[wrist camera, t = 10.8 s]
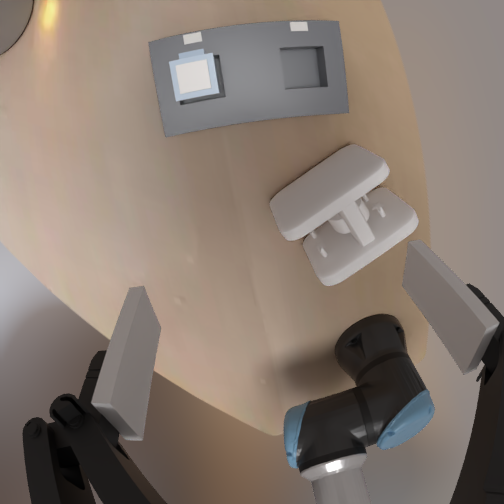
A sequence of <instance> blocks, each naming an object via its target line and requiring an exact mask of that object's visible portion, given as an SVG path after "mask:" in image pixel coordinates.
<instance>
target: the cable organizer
mask: <svg viewBox="0 0 504 504" xmlns="http://www.w3.org/2000/svg"><path fill="white" fill-rule="evenodd" d="M389 172H390V170H389V168H388V166H387V164H386V162H385V160H384V159H383V158H382V157H380V156H378V155H376V154H374V153H372V152H370V151H368V150H367V149H365V148H363V147H361V146H359V145H357V144H351V145H348V146H346V147H344V148H342V149H340V150H338V151H337V152H335V153H334V154H333V155H331V156H330V157H328V158H327V159H325V160H324V161H322V162H321V163H319V164H318V165H317V166H315V167H314V168H312V169H311V170H309V171H308V172H306V173H305V174H304V175H302V176H301V177H299V178H298V179H296V180H295V181H294V182H292V183H291V184H289V185H288V186H287V187H285V188H284V189H282V190H281V191H280V192H278V193H277V194H276V195H275V196H274V197H273V198H272V200H271V201H270V204H269V205H270V208H271V211H272V213H273V216H274V218H275V221H276V224H277V226H278V229H279V231H280V233H281V234H282V235H283V236H284V238H285V239H286V240H288V241H294V240H297V239H300V238H302V237H304V236H305V235H307V234H308V233H310V234H309V235H308V236H307V237H306V238H305V240H304V242H303V247H304V250H305V252H306V254H307V256H308V258H309V260H310V263H311V265H312V267H313V269H314V271H315V274H316V276H317V277H318V278H319V280H320V281H321V282H322V284H323V285H326V286H332V285H336V284H338V283H340V282H342V281H344V280H345V279H346V278H348V277H350V276H351V275H353V274H354V273H355V272H357V271H358V270H360V269H362V268H363V267H364V266H366V265H368V264H369V263H370V262H372V261H373V260H375V259H376V258H377V257H379V256H380V255H382V254H383V253H385V252H386V251H387V250H389V249H390V248H392V247H393V246H395V245H396V244H397V243H399V242H400V241H402V240H403V239H404V238H406V237H407V236H409V235H410V234H411V233H412V232H413V231H414V230H415V229H416V227H417V226H418V222H419V220H418V217H417V215H416V212H415V210H414V209H413V208H412V207H411V206H410V205H408V204H407V203H406V202H404V201H403V200H402V199H401V198H399V197H398V196H397V195H395V194H394V193H393V192H391V191H390V190H389V189H387V188H385V187H381V188H377V189H374V190H372V189H373V188H375V187H376V186H378V185H379V184H380V183H382V182H383V181H384V180H385V179H386V178H387V176H388V175H389ZM370 190H372V191H371V192H370ZM368 192H369V193H368ZM366 193H368V194H366ZM361 197H362V198H361ZM327 220H328V221H327ZM326 221H327V222H326ZM324 222H326V223H324ZM323 223H324V224H323ZM321 224H323V225H321ZM319 226H320V227H319ZM317 227H319V228H317ZM316 228H317V229H316ZM314 229H316V230H314Z"/></svg>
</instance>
